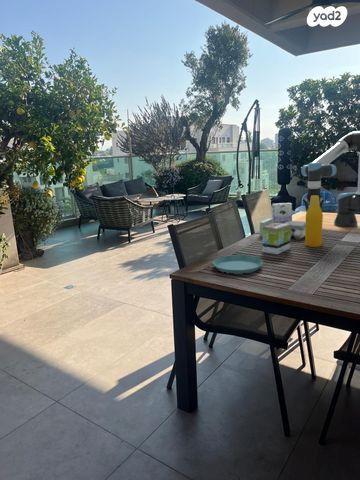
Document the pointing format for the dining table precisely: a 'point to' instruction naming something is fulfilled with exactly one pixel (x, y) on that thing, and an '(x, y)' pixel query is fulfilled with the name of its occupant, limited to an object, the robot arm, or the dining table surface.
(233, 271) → the saucer
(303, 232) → the roller bed
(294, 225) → the stone slab
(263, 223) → the block
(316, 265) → the dining table surface
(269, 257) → the dining table surface
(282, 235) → the tea box
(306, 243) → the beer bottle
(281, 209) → the candy box
